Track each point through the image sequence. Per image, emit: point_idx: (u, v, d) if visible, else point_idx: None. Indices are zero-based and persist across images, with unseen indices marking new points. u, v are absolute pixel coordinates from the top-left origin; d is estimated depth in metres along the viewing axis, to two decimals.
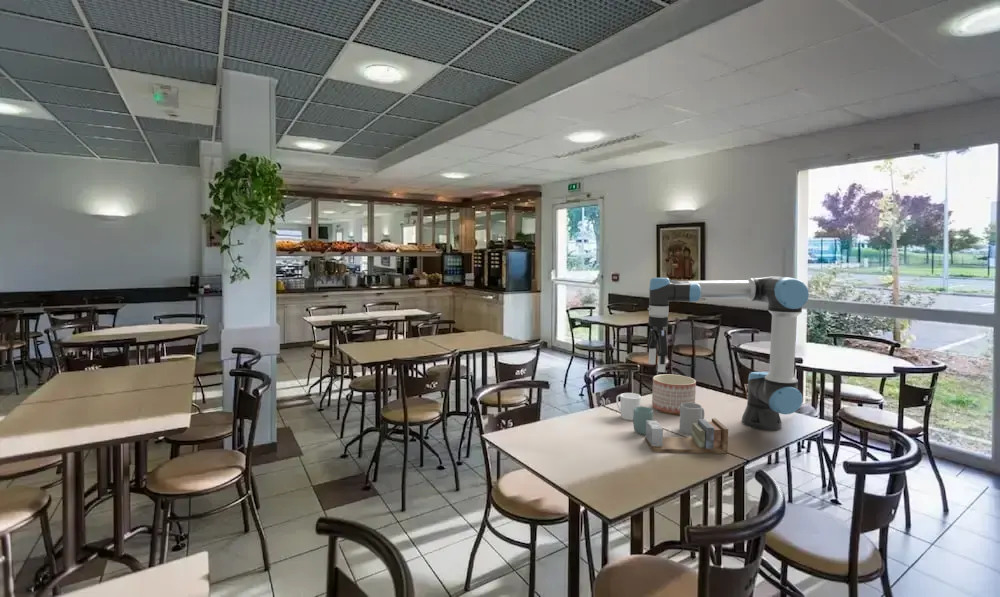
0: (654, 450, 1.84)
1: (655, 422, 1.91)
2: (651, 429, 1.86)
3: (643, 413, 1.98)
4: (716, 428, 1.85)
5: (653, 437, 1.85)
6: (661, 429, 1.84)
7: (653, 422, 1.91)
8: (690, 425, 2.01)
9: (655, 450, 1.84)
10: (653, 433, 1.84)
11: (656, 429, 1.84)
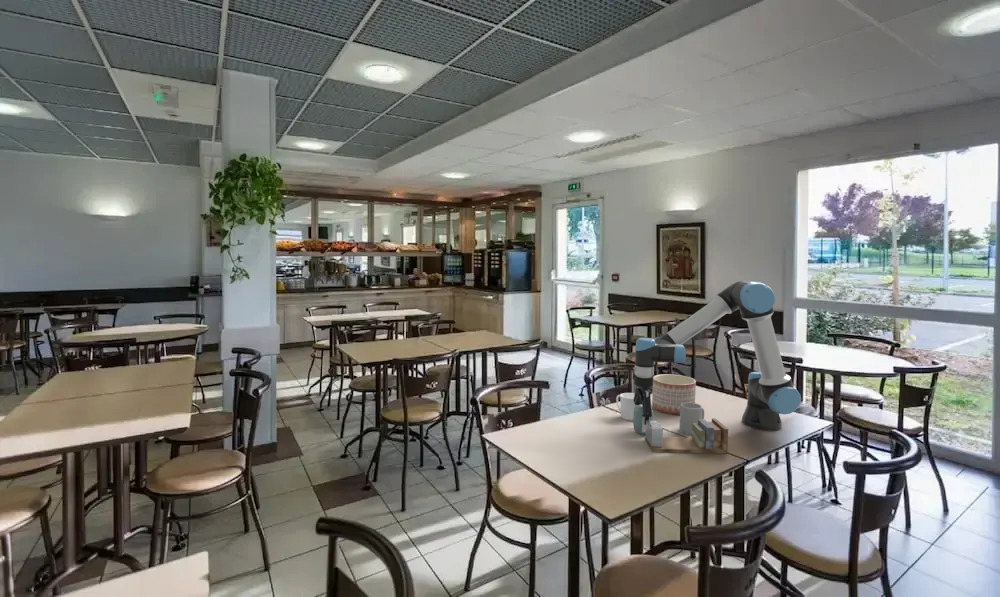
0: (654, 450, 1.84)
1: (655, 422, 1.91)
2: (651, 429, 1.86)
3: None
4: (716, 428, 1.85)
5: (653, 437, 1.85)
6: (661, 429, 1.84)
7: (653, 422, 1.91)
8: (690, 425, 2.01)
9: (655, 450, 1.84)
10: (653, 433, 1.84)
11: (656, 429, 1.84)
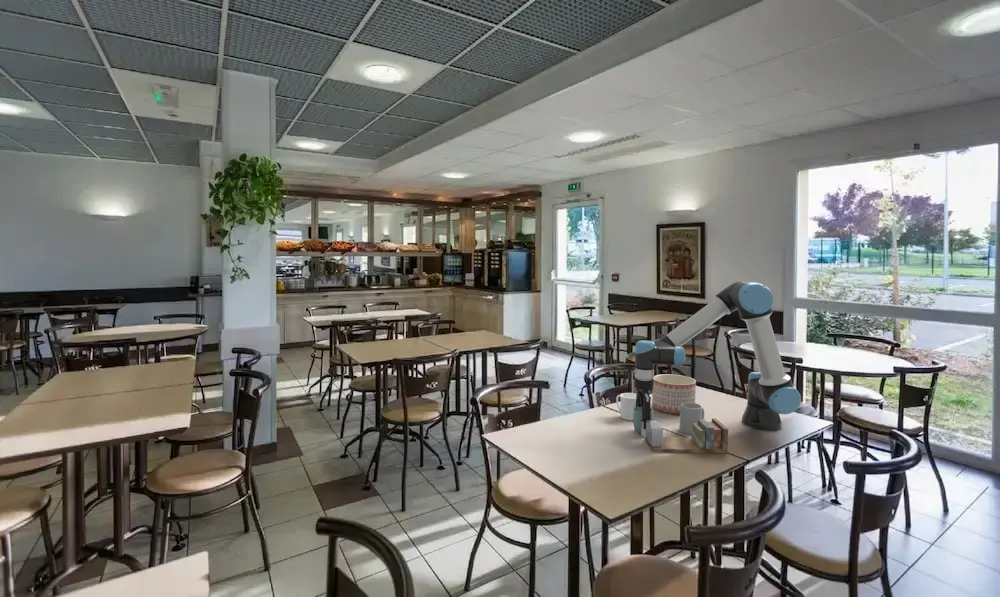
0: (654, 450, 1.84)
1: (655, 422, 1.91)
2: (651, 429, 1.86)
3: None
4: (716, 428, 1.85)
5: (653, 437, 1.85)
6: (661, 429, 1.84)
7: (653, 422, 1.91)
8: (690, 425, 2.01)
9: (655, 450, 1.84)
10: (653, 433, 1.84)
11: (656, 429, 1.84)
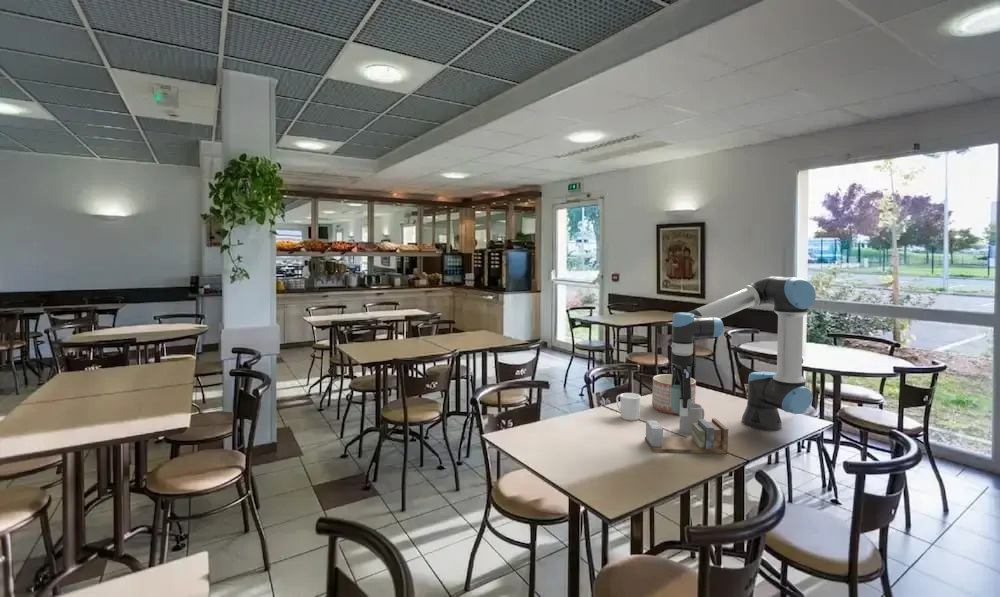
0: (654, 450, 1.84)
1: (655, 422, 1.91)
2: (651, 429, 1.86)
3: None
4: (716, 428, 1.85)
5: (653, 437, 1.85)
6: (661, 429, 1.84)
7: (653, 422, 1.91)
8: (690, 425, 2.01)
9: (655, 450, 1.84)
10: (653, 433, 1.84)
11: (656, 429, 1.84)
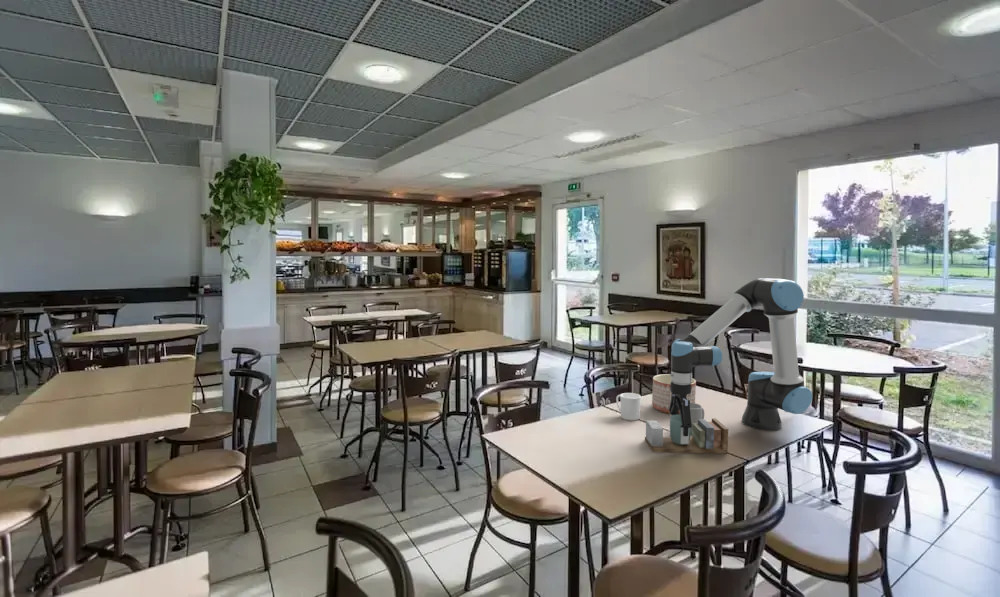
0: (654, 450, 1.84)
1: (655, 422, 1.91)
2: (651, 429, 1.86)
3: (681, 422, 1.84)
4: (716, 428, 1.85)
5: (653, 437, 1.85)
6: (661, 429, 1.84)
7: (653, 422, 1.91)
8: None
9: (655, 450, 1.84)
10: (653, 433, 1.84)
11: (656, 429, 1.84)
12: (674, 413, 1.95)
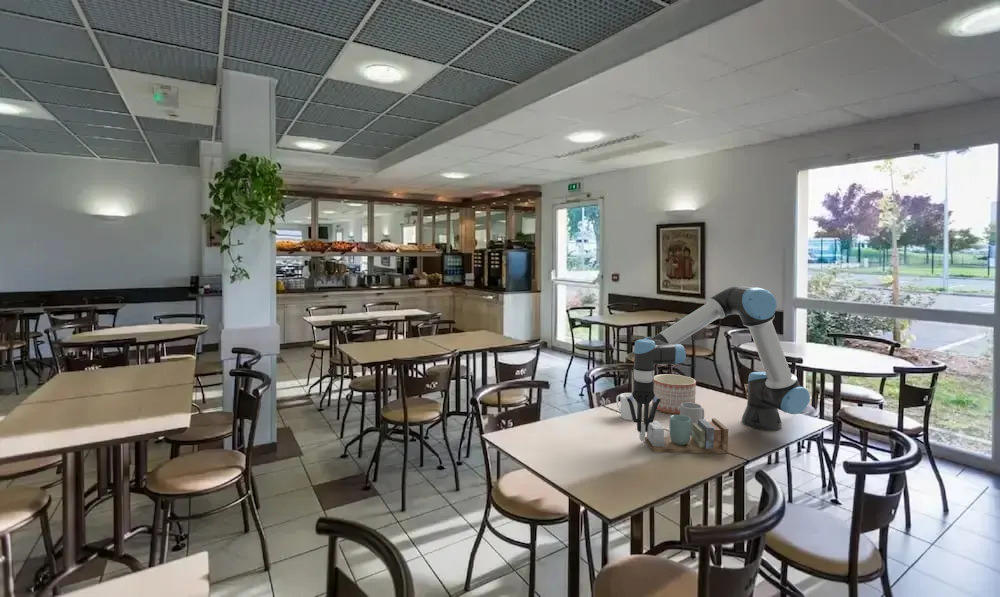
0: (654, 450, 1.84)
1: (656, 422, 1.91)
2: (652, 429, 1.86)
3: (681, 422, 1.84)
4: (716, 428, 1.85)
5: (654, 437, 1.85)
6: (662, 429, 1.84)
7: (654, 422, 1.91)
8: None
9: (655, 450, 1.84)
10: (654, 433, 1.84)
11: (657, 429, 1.84)
12: (644, 421, 1.89)
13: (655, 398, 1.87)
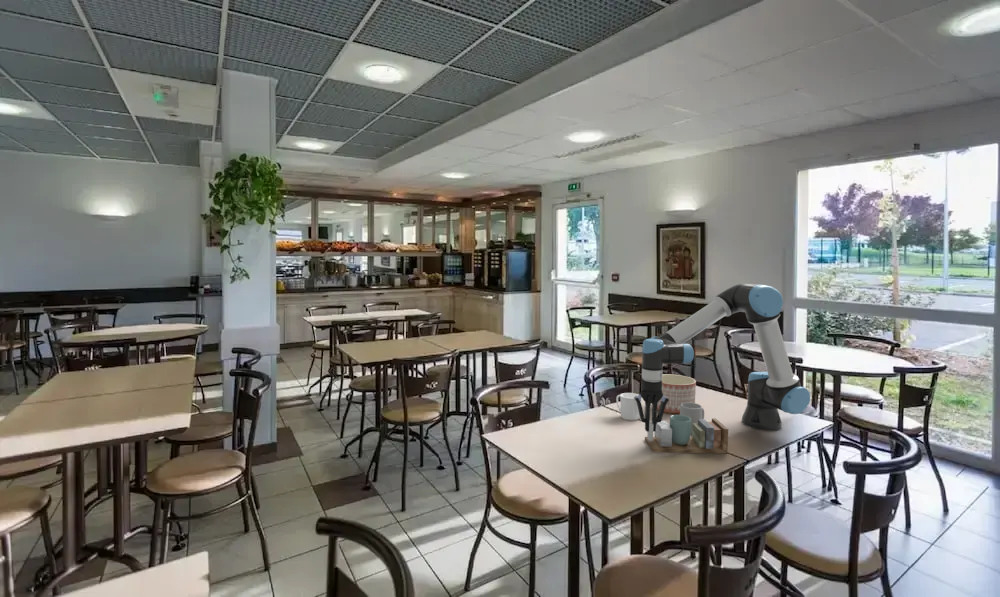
0: (654, 450, 1.84)
1: (664, 422, 1.91)
2: (660, 429, 1.86)
3: (681, 422, 1.84)
4: (716, 428, 1.85)
5: (662, 437, 1.84)
6: (670, 429, 1.84)
7: (662, 422, 1.91)
8: None
9: (655, 450, 1.84)
10: (662, 433, 1.84)
11: (665, 429, 1.84)
12: (652, 421, 1.89)
13: (663, 397, 1.87)
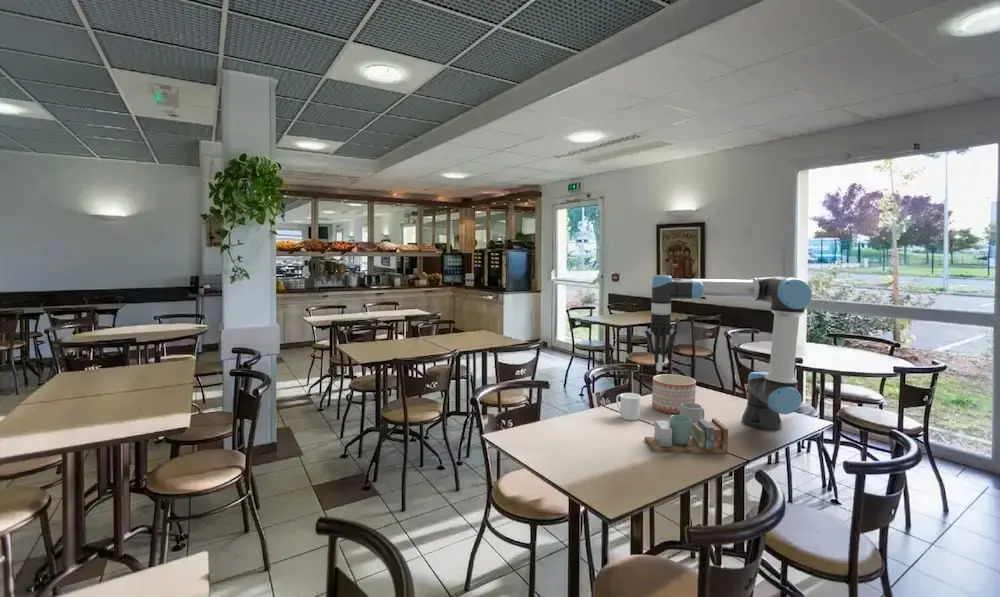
0: (654, 450, 1.84)
1: (664, 422, 1.91)
2: (660, 429, 1.86)
3: (681, 422, 1.84)
4: (716, 428, 1.85)
5: (662, 437, 1.84)
6: (670, 429, 1.84)
7: (662, 422, 1.91)
8: None
9: (655, 450, 1.84)
10: (662, 433, 1.84)
11: (665, 429, 1.84)
12: (661, 353, 1.99)
13: (671, 330, 1.98)
